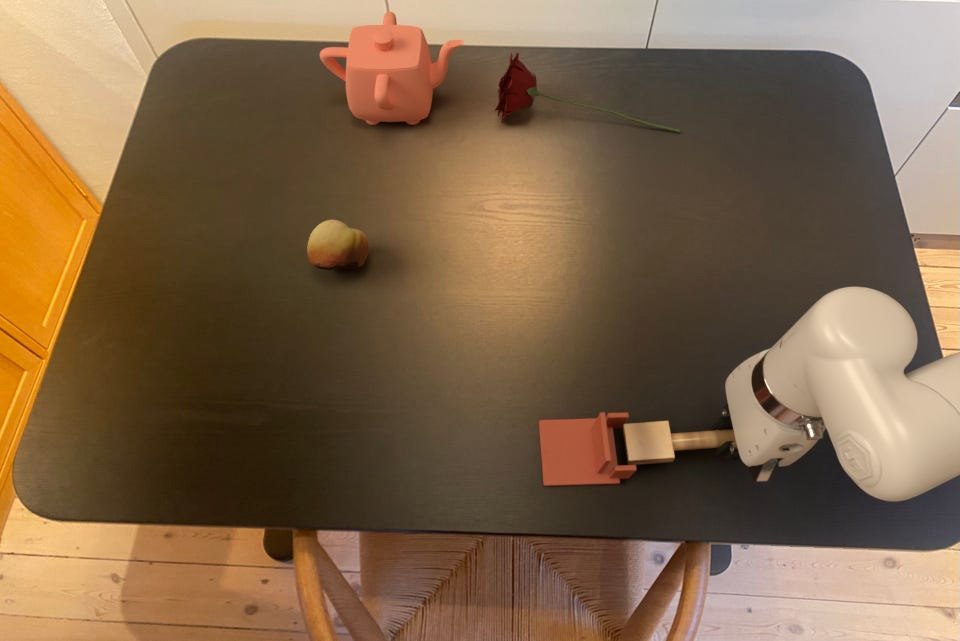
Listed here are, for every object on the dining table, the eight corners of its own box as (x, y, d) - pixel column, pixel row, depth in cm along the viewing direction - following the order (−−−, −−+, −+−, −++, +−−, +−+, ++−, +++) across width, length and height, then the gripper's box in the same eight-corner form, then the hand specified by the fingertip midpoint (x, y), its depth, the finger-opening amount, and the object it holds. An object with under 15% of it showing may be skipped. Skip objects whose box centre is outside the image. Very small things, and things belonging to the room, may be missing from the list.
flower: (695, 132, 90) (500, 80, 87) (663, 178, 99) (486, 132, 97) (695, 82, 95) (510, 31, 92) (665, 129, 104) (496, 84, 102)
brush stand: (620, 418, 75) (631, 401, 69) (629, 483, 72) (642, 470, 66) (538, 421, 75) (543, 403, 69) (543, 486, 72) (548, 473, 66)
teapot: (328, 106, 100) (307, 37, 88) (397, 57, 105) (386, -14, 93) (398, 158, 95) (385, 92, 83) (467, 104, 100) (464, 35, 88)
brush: (752, 421, 72) (758, 413, 69) (761, 458, 70) (767, 451, 67) (622, 430, 74) (623, 423, 71) (627, 467, 72) (628, 461, 69)
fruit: (382, 270, 85) (372, 237, 78) (328, 297, 84) (314, 266, 76) (358, 232, 88) (347, 198, 81) (306, 257, 86) (290, 224, 79)
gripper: (865, 471, 51) (774, 511, 68) (814, 306, 59) (743, 378, 75) (776, 473, 51) (707, 512, 68) (737, 308, 59) (682, 379, 75)
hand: (726, 441), depth 71 cm, fingers closed on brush, 2 cm apart
